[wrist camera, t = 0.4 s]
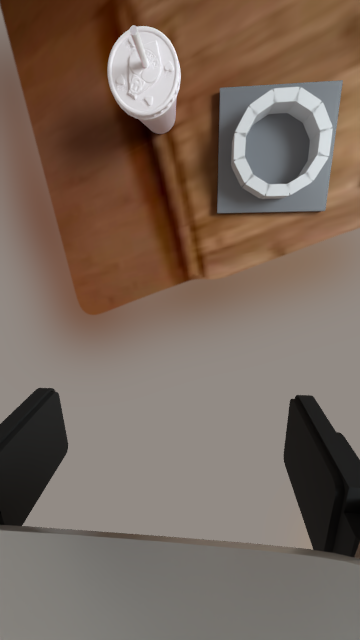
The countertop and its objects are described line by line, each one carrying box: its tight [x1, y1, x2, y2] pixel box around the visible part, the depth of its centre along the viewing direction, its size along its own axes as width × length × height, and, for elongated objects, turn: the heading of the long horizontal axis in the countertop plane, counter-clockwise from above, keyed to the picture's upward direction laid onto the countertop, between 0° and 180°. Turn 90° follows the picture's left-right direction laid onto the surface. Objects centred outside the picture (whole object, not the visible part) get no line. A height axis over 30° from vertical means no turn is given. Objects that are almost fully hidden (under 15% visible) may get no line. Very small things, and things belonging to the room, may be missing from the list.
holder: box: [217, 80, 343, 214], centre depth 31 cm, size 13×13×4 cm
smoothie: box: [108, 25, 181, 134], centre depth 26 cm, size 6×6×14 cm
